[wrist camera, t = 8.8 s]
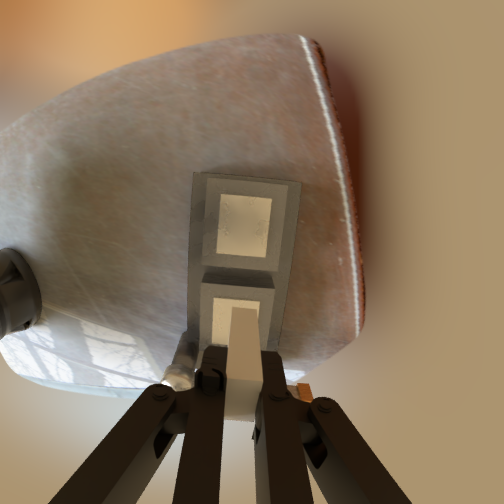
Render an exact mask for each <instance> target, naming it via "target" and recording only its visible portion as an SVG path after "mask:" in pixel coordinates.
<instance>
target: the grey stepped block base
mask: <svg viewBox="0 0 504 504" xmlns="http://www.w3.org/2000/svg"><path fill="white" fill-rule="evenodd" d="M301 187H302V183H301V182H294V181H286V180H277V179H268V178H259V177H249V176H238V175H226V174H212V173H196V172H194V174H193V186H192V199H191V214H190V231H189V254H188V292H187V331H186V332H184V333H183V334H182V336H181V339H180V341H179V344H178V347H177V350H176V352H175V355H174V358H173V361H172V364H182V365H185V366H187V367H189V368H190V369H192V370H193V371H195V368H196V369H199V368H200V366H201V362H202V358H203V353H204V350H205V349H206V348H207V347H208V346H209V345H211V346H218V347H227V348H228V338H229V330H230V321H231V313H232V307H240V308H249V309H257V317H258V328H259V340H260V350H263V351H276V352H277V350H278V344H279V339H280V333H281V327H282V321H283V315H284V309H285V303H286V297H287V291H288V284H289V278H290V271H291V264H292V257H293V250H294V243H295V235H296V228H297V220H298V212H299V204H300V196H301ZM172 364H171V365H172Z"/></svg>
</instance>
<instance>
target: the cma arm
mask: <svg viewBox="0 0 504 504" xmlns="http://www.w3.org/2000/svg"><path fill="white" fill-rule="evenodd" d="M194 376H195V372H194V371H193V370H192V369H190V368H189V367H187V366H185V365H182V364H172V365H169V366H168V367H167V368H166V369H165V371H164V374H163V377H162V379H161V382H160V384H166V385H168V386H170V387H172V388H173V389H174V390H175V391H185V390H189V389H191V388H193V387H194ZM287 389H288V390H289V391H290V392H291V393H292V395H293V397H295V398H296V399H299V400H302V401H306V402H310V403H311V401H313V400H314V399H313V396H312V392H311V389H310V386H309V384H304V383H297V385H296V386H292V385H287Z"/></svg>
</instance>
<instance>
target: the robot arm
mask: <svg viewBox="0 0 504 504" xmlns="http://www.w3.org/2000/svg"><path fill="white" fill-rule="evenodd" d="M40 314H41V296H40V291H39V288H38V284H37V282H36V279H35V277H34V275H33V272H32V271H31V269H30V267H29V265H28V264H27V262H26V261H25V260H24V259H23V258H22V256H21V255H19V254H18V253H17V252H16V251H14V250H12V249H9V248H4V249H1V250H0V339H2V338H3V337H4V336H5V335H8V334H12V333H15V332H19V331H23V330H26V329H28V328H30V327H31V326H32V325H34V324H35V323H36V322H37V321H38V319H39V317H40ZM224 419H227V420H236V421H250V422H254V419H255V428H254V432H253V436H252V439H253V440H254V450H255V478H256V502H257V504H314V501H313V496H312V491H311V486H310V480H309V475H308V470H307V465H308V467H309V469H310V471H311V473H312V475H313V477H314V479H315V481H316V482H317V484H318V486H319V488H320V490H321V492H322V494H323V495H324V497H325V499H326V501H327V503H328V504H412V503H411V501H410V500H409V499H408V498H407V496H406V495H405V494H404V492H403V491H402V490H401V488H400V487H399V486H398V484H397V483H396V482H395V480H394V479H393V478H392V477H391V475H390V474H389V472H388V471H387V470H386V468H385V467H384V466H383V464H382V463H381V462H380V460H379V459H378V458H377V456H376V455H375V454H374V452H373V451H372V450H371V448H370V447H369V446H368V444H367V443H366V441H365V440H364V439H363V437H362V436H361V435H360V434H359V432H358V431H357V429H356V428H355V426H354V425H353V424H352V422H351V421H350V420H349V418H348V417H347V415H346V414H345V413H344V411H343V410H342V409H341V407H340V406H339V404H338V403H337V402H336V401H335V400H333V399H331V398H327V397H318V398H315V399H314V400H313V401H311V403H310V402H306V401H302V400H299V399H296V398H295V397H293V395H292V393H291V392H290V391H289V390H288V389H287V384H286V379H285V374H284V369H283V363H282V358H281V356H280V355H279V354H278V353H277V352H276V351H263V350H260V340H259V328H258V317H257V309H249V308H240V307H232V313H231V321H230V330H229V338H228V348H227V347H218V346H211V345H209V346H208V347H207V348H206V349H205V350H204V353H203V358H202V362H201V366H200V368H199V369H198V370H197V371H196V372H195V376H194V387H193V388H191V389H189V390H185V391H175V390H174V389H173V388H172V387H170V386H168V385H166V384H153V385H150V386H149V387H147V388H146V389H145V390H144V392H143V393H142V394H141V395H140V396H139V398H138V399H137V400H136V401H135V402H134V403H133V405H132V406H131V407H130V408H129V409H128V411H127V412H126V413H125V414H124V415H123V416H122V418H121V419H120V420H119V421H118V422H117V424H116V425H115V426H114V427H113V428H112V429H111V431H110V432H109V433H108V434H107V435H106V437H105V438H104V439H103V440H102V441H101V442H100V444H99V445H98V446H97V447H96V448H95V450H94V451H93V452H92V453H91V454H90V455H89V457H88V458H87V459H86V460H85V462H83V464H82V465H81V466H80V467H79V468H78V469H77V471H76V472H75V473H74V474H73V475H72V476H71V478H70V479H69V480H68V481H67V483H65V485H64V486H63V487H62V488H61V489H60V490H59V492H58V493H57V494H56V495H55V496H54V497H53V498H52V500H51V501H50V502H49V503H48V504H136V502H137V500H138V499H139V498H140V496H141V494H142V493H143V491H144V490H145V488H146V486H147V485H148V483H149V482H150V480H151V478H152V477H153V475H154V473H155V472H156V470H157V469H158V467H159V465H160V464H161V462H162V460H163V459H164V457H165V455H166V454H167V452H168V450H169V449H170V447H171V445H172V443H173V442H174V440H175V439H176V436H177V434H183V433H185V436H184V441H183V446H182V452H181V457H180V463H179V468H178V473H177V479H176V484H175V490H174V496H173V502H172V504H219V490H220V472H221V456H222V439H223V424H224ZM306 464H307V465H306Z"/></svg>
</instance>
